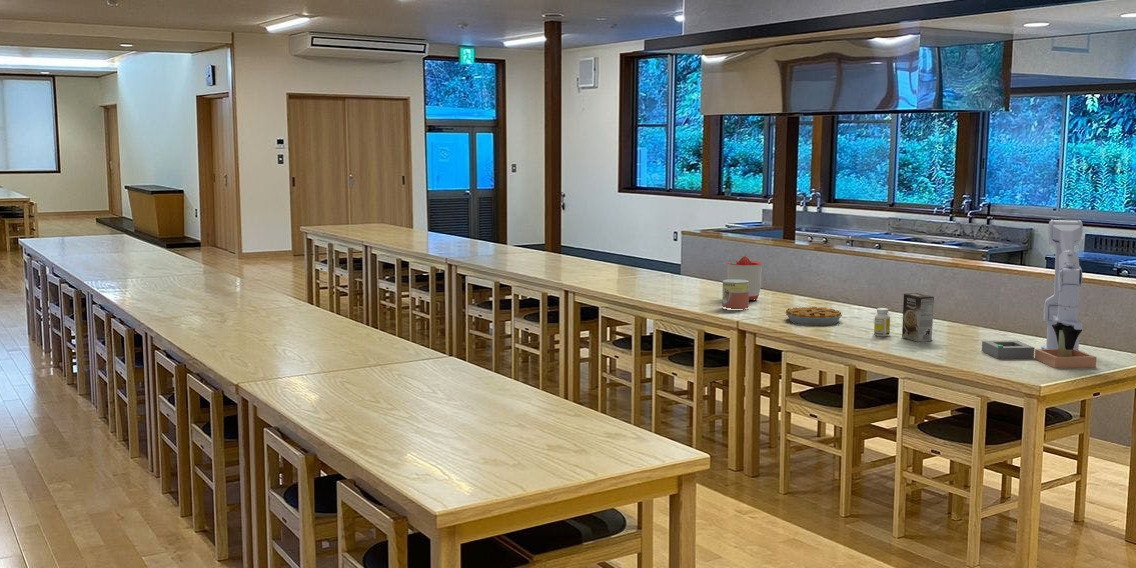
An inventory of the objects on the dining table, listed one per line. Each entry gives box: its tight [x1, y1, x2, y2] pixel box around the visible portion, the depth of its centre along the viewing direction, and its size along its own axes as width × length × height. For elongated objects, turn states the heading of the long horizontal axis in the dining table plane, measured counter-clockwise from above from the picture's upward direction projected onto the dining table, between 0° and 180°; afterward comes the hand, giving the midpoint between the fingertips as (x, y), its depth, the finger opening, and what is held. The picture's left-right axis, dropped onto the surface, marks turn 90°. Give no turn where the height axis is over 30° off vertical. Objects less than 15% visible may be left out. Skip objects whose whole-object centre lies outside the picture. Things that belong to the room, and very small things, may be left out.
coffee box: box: [901, 292, 935, 343], centre depth 361 cm, size 9×6×16 cm
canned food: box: [721, 278, 750, 309], centre depth 431 cm, size 11×11×12 cm
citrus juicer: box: [725, 255, 763, 301], centre depth 455 cm, size 16×17×20 cm
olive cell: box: [1058, 330, 1072, 357], centre depth 320 cm, size 4×4×9 cm
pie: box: [785, 306, 843, 326], centre depth 400 cm, size 22×22×5 cm
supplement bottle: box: [873, 307, 891, 337], centre depth 369 cm, size 5×5×10 cm
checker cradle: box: [981, 340, 1036, 359], centre depth 335 cm, size 12×12×4 cm
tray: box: [1034, 348, 1098, 369], centre depth 321 cm, size 13×13×3 cm
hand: (1065, 348), depth 321 cm, fingers closed on olive cell, 4 cm apart
